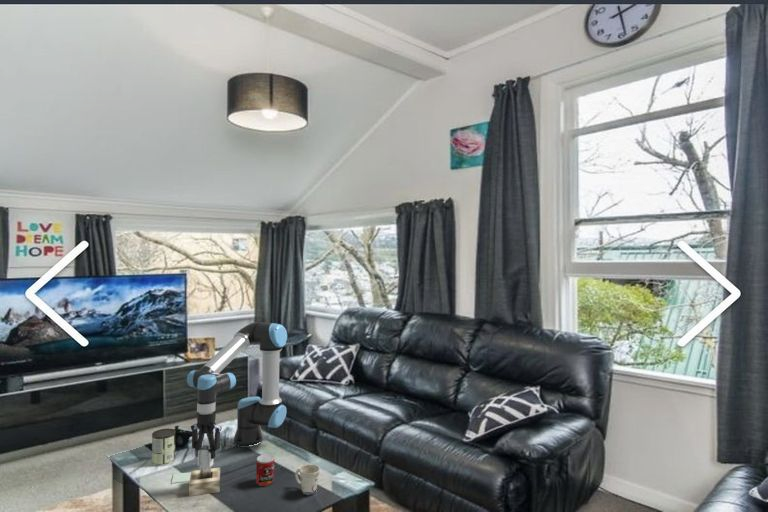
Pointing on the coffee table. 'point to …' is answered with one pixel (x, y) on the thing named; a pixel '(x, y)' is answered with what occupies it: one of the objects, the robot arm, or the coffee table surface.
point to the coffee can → (163, 447)
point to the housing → (204, 483)
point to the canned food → (265, 469)
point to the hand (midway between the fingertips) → (205, 465)
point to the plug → (204, 462)
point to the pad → (181, 477)
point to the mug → (308, 477)
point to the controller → (182, 436)
